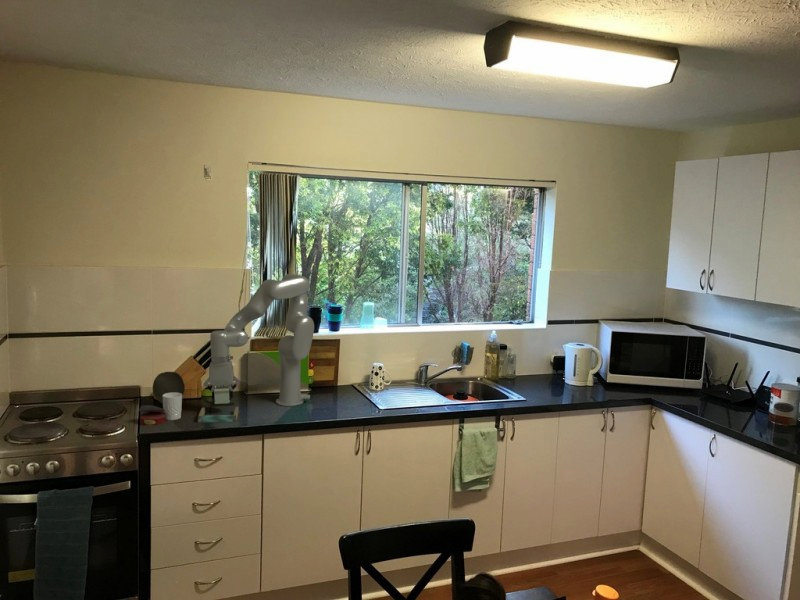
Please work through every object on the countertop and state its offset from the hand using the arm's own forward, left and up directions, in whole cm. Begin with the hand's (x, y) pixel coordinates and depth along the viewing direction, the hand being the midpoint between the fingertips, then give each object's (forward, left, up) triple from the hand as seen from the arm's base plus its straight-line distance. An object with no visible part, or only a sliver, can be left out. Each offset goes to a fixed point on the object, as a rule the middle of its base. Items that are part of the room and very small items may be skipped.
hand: (222, 399), depth 280 cm
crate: (0, 0, -1) cm, 1 cm away
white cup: (+20, +5, -7) cm, 22 cm away
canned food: (+27, +10, -7) cm, 30 cm away
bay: (+1, +6, -6) cm, 8 cm away
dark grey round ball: (+25, -15, -6) cm, 30 cm away
